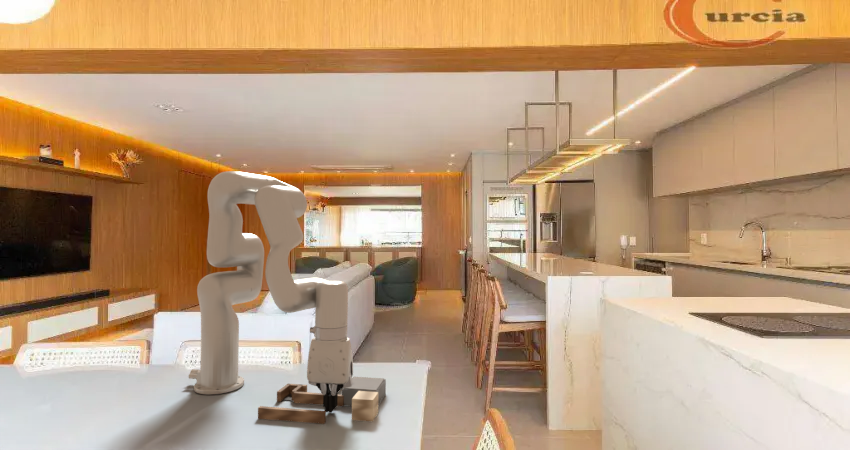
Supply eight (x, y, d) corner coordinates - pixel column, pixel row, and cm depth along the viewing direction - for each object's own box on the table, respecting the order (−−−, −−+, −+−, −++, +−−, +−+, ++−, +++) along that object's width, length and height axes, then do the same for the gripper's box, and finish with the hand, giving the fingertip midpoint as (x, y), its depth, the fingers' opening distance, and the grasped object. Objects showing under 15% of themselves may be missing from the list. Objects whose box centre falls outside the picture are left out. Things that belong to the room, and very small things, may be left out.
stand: (341, 405, 109) (341, 388, 109) (353, 392, 118) (353, 376, 118) (376, 408, 107) (377, 390, 107) (385, 394, 116) (385, 378, 116)
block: (351, 420, 101) (351, 398, 101) (358, 411, 106) (358, 390, 106) (372, 422, 100) (372, 400, 100) (378, 413, 105) (378, 392, 105)
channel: (255, 418, 101) (256, 407, 101) (287, 392, 117) (287, 383, 117) (328, 424, 98) (328, 413, 98) (350, 397, 114) (350, 387, 114)
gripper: (294, 335, 101) (293, 414, 101) (356, 338, 99) (355, 419, 99) (307, 328, 109) (306, 401, 109) (366, 330, 107) (365, 406, 107)
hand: (330, 409), depth 104 cm, fingers closed
